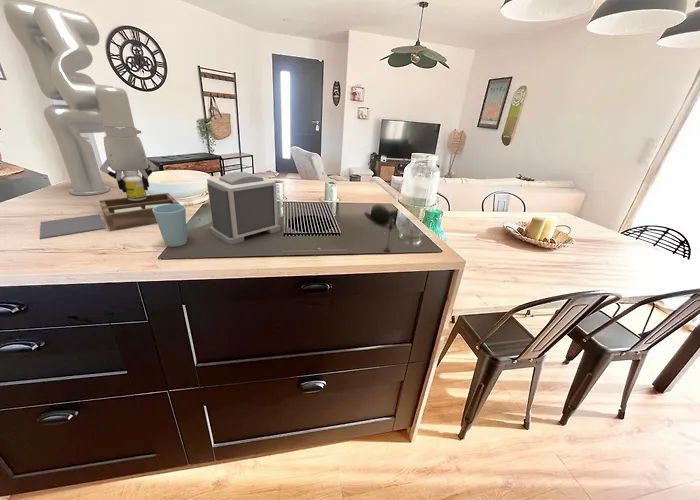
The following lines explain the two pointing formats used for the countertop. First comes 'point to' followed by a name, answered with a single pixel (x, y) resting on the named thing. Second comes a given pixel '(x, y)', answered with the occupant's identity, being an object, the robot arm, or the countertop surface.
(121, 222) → the rack
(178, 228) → the cup
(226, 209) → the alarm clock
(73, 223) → the mat
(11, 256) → the countertop surface
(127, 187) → the supplement bottle
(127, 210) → the offcut
